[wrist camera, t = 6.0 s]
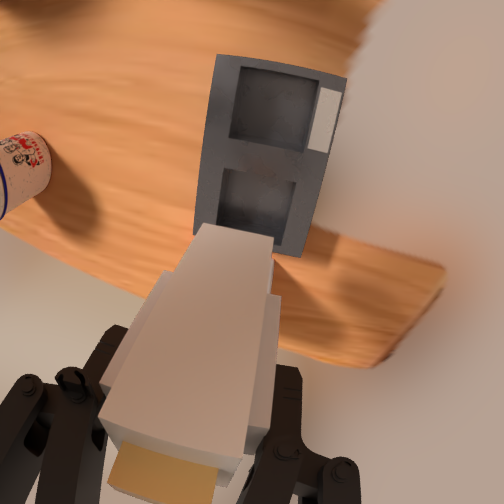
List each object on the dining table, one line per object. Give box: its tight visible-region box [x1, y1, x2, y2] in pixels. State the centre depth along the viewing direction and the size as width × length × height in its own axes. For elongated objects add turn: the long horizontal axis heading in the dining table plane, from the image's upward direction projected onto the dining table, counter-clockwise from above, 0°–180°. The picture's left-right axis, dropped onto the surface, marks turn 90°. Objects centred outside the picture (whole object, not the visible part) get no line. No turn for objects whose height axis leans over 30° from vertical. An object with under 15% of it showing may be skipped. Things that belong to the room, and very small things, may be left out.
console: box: [193, 54, 347, 258], centre depth 25 cm, size 16×10×4 cm, turn 170°
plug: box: [98, 223, 274, 504], centre depth 12 cm, size 4×4×14 cm
